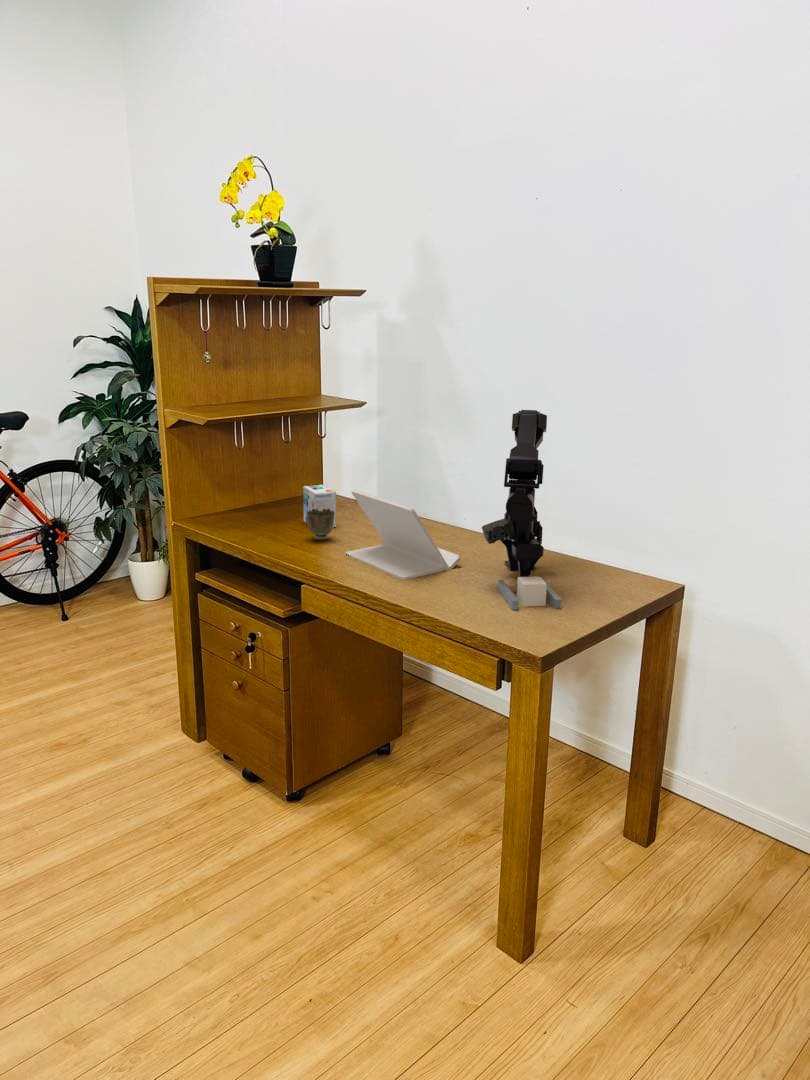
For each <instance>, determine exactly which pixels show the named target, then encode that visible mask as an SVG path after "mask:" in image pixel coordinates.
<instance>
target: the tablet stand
mask: <svg viewBox="0 0 810 1080" xmlns="http://www.w3.org/2000/svg"><path fill="white" fill-rule="evenodd" d="M351 495H352V496H353V497H354V499H355V501H356V502H357V503H358V504H359V506H360V508H361V509H362V511H363V513H364V514H365V516H366V518H367V519H368V520H369V522H370V523H371V524H372V526H373V527H374V530H375V531H376V532H377V534H378V535H379V536H380V538H381V540H382V544H379V545H373V546H370V547H369V546H368V547H363V548H358V549H354V550H348V551H345V555H346V554H347V555H349V556H351V557H353V558H352V559H354V558H356V559H358V560H361V561H363V562H365V563H367V564H369V565H368V566H370V565H371V566H370V567H372V566H373V567H372V568H374V567H375V568H374V569H377V568H378V569H377V570H379V569H380V570H379V571H381V570H382V571H381V572H383V571H384V572H383V573H387V574H388V575H390V576H393V577H395V578H397V579H400V580H402V581H403V580H410V579H414V578H419V577H423V576H426V575H432V574H435V573H439V572H444V571H449V570H452V569H453V568H454V567H455V566H456V565H458V563H460V561H461V560H462V559H461V556H460V555H459V554H456V553H454V552H451V551H448V550H446V549H442V548H439V547H437V545H436V544H435V542H434V540H433V539H432V537H431V535H430V533H429V532H428V530H427V529H426V527H425V524H423V522H422V521H421V518H420V517H419V515H418V513H417V512H416V510H415V509H414V508H413V507H411V506H407V505H404V504H402V503H399V502H395V501H392V500H389V499H385V498H382V497H379V496H377V495H373V494H371V493H366V492H363V491H361V490H358V489H353V490H351ZM347 555H346V556H347ZM349 556H348V557H349ZM351 557H350V558H351ZM356 559H355V560H356ZM358 560H357V561H358ZM363 562H362V563H363ZM365 563H364V564H365ZM367 564H366V565H367Z"/></svg>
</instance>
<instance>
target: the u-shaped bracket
mask: <svg viewBox="0 0 810 1080" xmlns="http://www.w3.org/2000/svg"><path fill="white" fill-rule="evenodd" d="M546 584H547V589H546V601H548V602H549V604H551V606H552V607H553V609H555V610H556V609H561V604H562V599H561V598H560V596H559V595H558V594H557V593H556V592H555V591H554V590H553V588H552V587H551V586H550V585H549V584H548V582H546ZM497 590H498V591H499V593H500V594H501V596H502V597H503V599H505V601H506V603H507V604H508V606H509V607H510V608H511V610H512V611H517V610H519V601H518V599H517V596H516V595H515V593H517V585H513V586H508V585H507V583H506V582H505V581H504V579H497Z"/></svg>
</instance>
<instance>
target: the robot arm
mask: <svg viewBox="0 0 810 1080" xmlns="http://www.w3.org/2000/svg"><path fill="white" fill-rule="evenodd" d="M511 417H512V419H511V431H512V432H514V441H515V443H516V445H515V446H514V447H512V448H511V449H510V452H509V456H508V457H509V458H508V457H507V458H506V459H505V461H506V462H505V467H504V468H505V471H504V479H503V480H504V482H503V487H504V488H508V489H509V490H508V497H507V500H506V503H505V509H506V510H505V513H504V517H503V518H501V519H498V520H495V521H492V522H489V523H487V524H483V525H482V526H481V530H482V533H483V535H484V539H485V541H486V542H487V543H488V544H490V545H491V544H495V543H496V542H497V541H499V542H501V543H502V544H503V545H504V546H505V549H506V553H507V554H506V555H507V559H508V560H504V564H505V566H506V567H507V568H508V569H509V571H518V573H519V576H518V577H530V575H531V573H532V571H536V570H537V567H536V565H537V562H538V561H539V559H540V560H541V557H544V550H545V548H544V546H543V545H542V544H543V526H542V525H541V521H540V520H538V511H537V509H536V506H535V500H536V498H535V497H536V489H538V490H539V489H540V485H543V479H544V477H543V476H544V467H545V466H544V464H543V461H542V459H539V453H540V452H539V450H538V448H539V447H540V445H541V444H542V442H543V441H544V433H547V428H548V427H547V425H548V415H547V414H544V413H541V412H540V411H538V410H535V409H521V410H518V412H516V413H512V416H511Z"/></svg>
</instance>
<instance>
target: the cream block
mask: <svg viewBox="0 0 810 1080" xmlns="http://www.w3.org/2000/svg"><path fill="white" fill-rule="evenodd" d="M516 583H517V585H516V586H517V592H516V598H517V599H518V603H519V604H520V605H521V607H545V606H546V605H547V604H546V601H547V598H546V589H547V584H548V583H547V582H546V581H545V580H544V578H542V577H541V576H528V577H520V576H518V577H517V582H516ZM546 583H547V584H546Z"/></svg>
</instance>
